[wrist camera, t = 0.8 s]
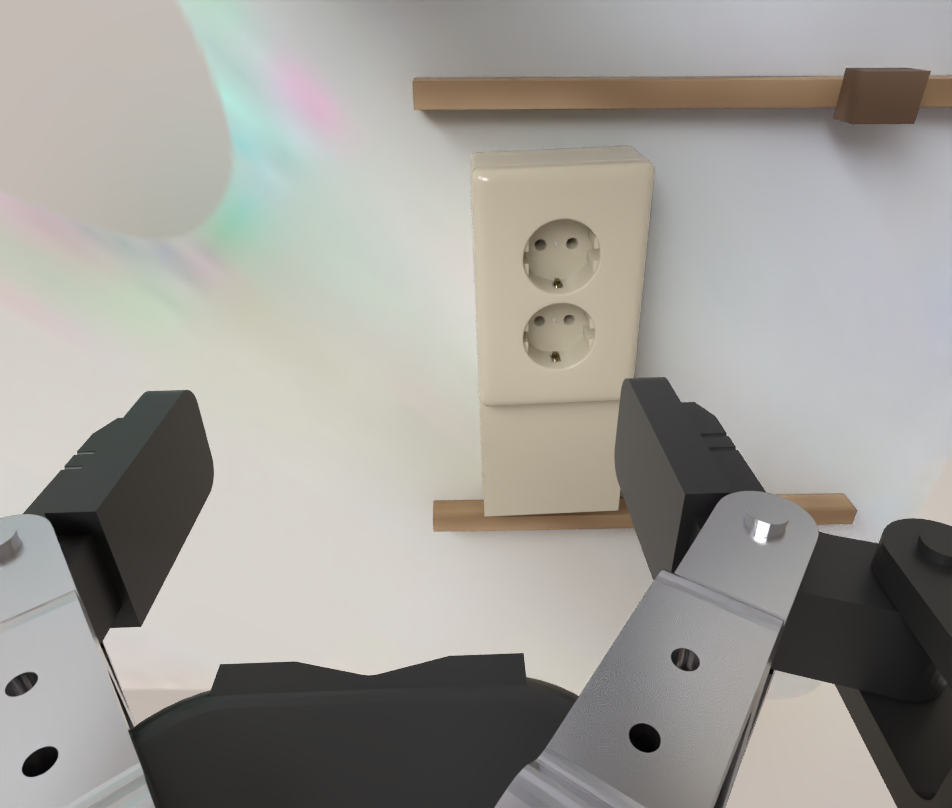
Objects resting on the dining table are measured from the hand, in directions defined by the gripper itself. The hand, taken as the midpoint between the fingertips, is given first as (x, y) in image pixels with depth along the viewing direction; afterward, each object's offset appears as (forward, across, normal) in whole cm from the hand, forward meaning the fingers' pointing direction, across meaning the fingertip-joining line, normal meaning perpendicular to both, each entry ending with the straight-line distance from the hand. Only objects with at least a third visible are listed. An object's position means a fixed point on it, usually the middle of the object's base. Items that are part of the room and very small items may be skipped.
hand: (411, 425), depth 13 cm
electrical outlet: (+20, -5, +7) cm, 22 cm away
